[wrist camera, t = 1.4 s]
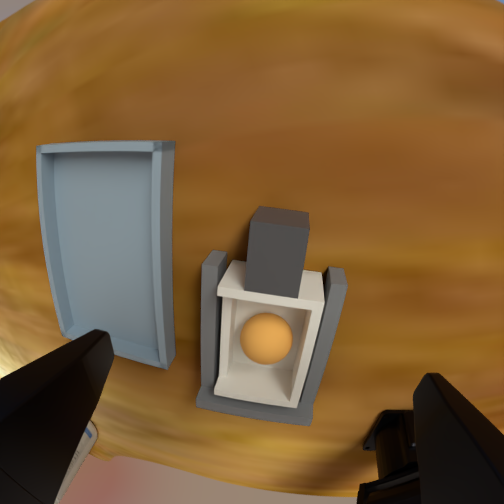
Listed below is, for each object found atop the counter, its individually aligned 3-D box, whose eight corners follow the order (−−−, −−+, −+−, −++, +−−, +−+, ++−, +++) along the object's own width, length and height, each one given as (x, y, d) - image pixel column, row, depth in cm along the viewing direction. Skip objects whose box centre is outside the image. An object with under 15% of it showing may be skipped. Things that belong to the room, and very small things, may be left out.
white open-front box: (299, 372, 24) (296, 408, 20) (226, 360, 24) (214, 394, 21) (331, 214, 19) (338, 233, 15) (237, 201, 20) (221, 217, 16)
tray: (175, 355, 25) (167, 369, 23) (73, 325, 26) (62, 336, 25) (175, 141, 19) (162, 141, 17) (53, 143, 20) (36, 145, 18)
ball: (288, 350, 22) (287, 378, 19) (241, 343, 22) (233, 370, 19) (296, 307, 21) (297, 332, 18) (246, 301, 22) (238, 323, 18)
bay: (310, 390, 24) (309, 426, 21) (209, 374, 25) (196, 407, 22) (343, 268, 20) (350, 297, 16) (212, 249, 21) (194, 274, 17)
